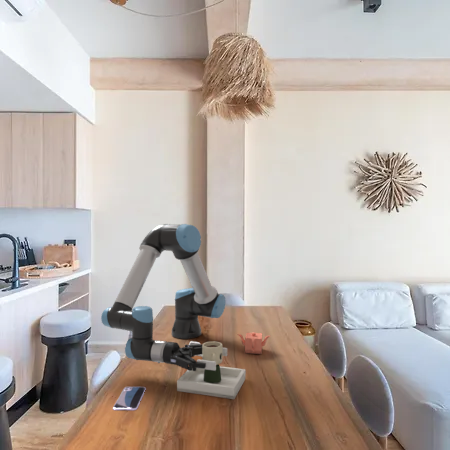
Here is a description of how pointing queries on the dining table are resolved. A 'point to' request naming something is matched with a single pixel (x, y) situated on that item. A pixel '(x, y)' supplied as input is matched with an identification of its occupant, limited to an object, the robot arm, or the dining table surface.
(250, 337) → the teapot
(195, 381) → the tray
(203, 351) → the character mug
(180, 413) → the dining table surface
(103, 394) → the dining table surface
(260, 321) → the dining table surface
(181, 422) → the dining table surface
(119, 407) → the mobile phone
